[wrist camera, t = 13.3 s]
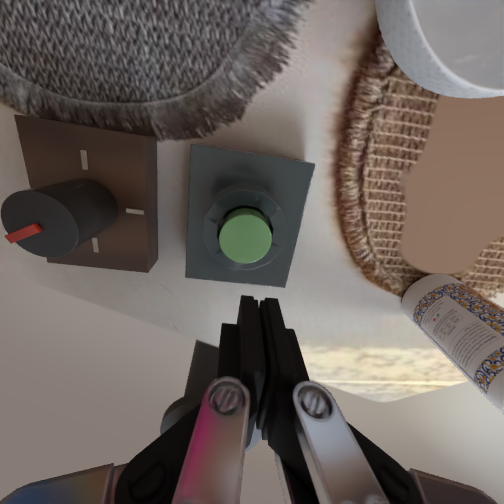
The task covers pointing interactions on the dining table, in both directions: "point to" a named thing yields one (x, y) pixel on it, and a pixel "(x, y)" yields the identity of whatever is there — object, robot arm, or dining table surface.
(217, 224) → the grey button housing
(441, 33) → the cereal bowl
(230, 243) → the green round button
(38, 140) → the lock base
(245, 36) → the dining table surface
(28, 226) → the dial
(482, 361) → the bath foam
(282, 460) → the robot arm
